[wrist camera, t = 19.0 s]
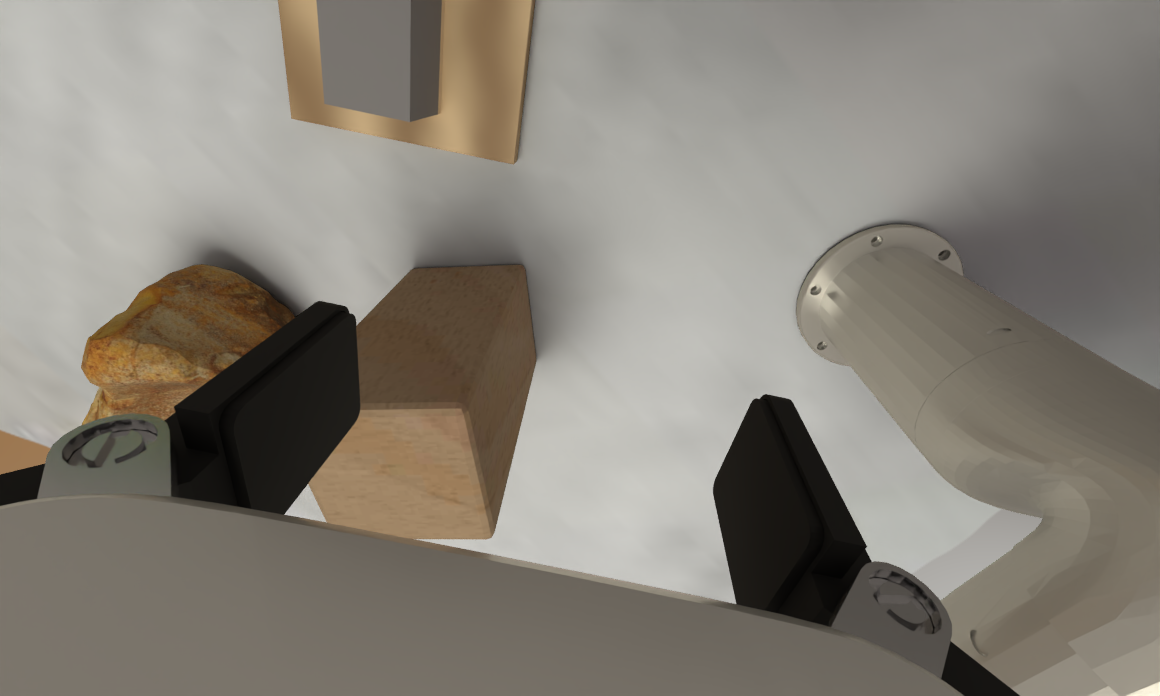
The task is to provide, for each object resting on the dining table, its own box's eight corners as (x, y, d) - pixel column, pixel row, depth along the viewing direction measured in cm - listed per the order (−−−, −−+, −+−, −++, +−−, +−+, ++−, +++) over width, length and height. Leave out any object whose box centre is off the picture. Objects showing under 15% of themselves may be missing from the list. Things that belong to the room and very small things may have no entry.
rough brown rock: (325, 473, 56) (256, 596, 43) (165, 423, 51) (34, 545, 38) (387, 316, 45) (320, 417, 33) (195, 235, 41) (29, 316, 28)
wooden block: (410, 266, 41) (267, 410, 24) (525, 262, 40) (463, 407, 23) (435, 364, 46) (331, 542, 29) (537, 362, 45) (494, 543, 28)
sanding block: (445, -29, 29) (411, -50, 24) (440, 113, 33) (409, 122, 28) (363, -48, 29) (310, -73, 24) (368, 98, 33) (324, 103, 28)
